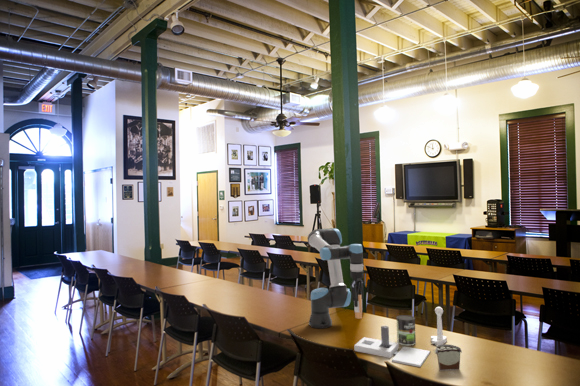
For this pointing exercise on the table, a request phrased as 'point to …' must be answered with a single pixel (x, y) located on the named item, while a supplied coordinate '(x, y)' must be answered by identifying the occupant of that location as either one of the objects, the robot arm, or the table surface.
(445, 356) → the food container
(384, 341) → the ball
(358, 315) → the jaw pin orange
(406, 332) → the coffee can
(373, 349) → the housing
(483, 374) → the table surface
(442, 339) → the joystick
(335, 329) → the table surface
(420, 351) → the lid
